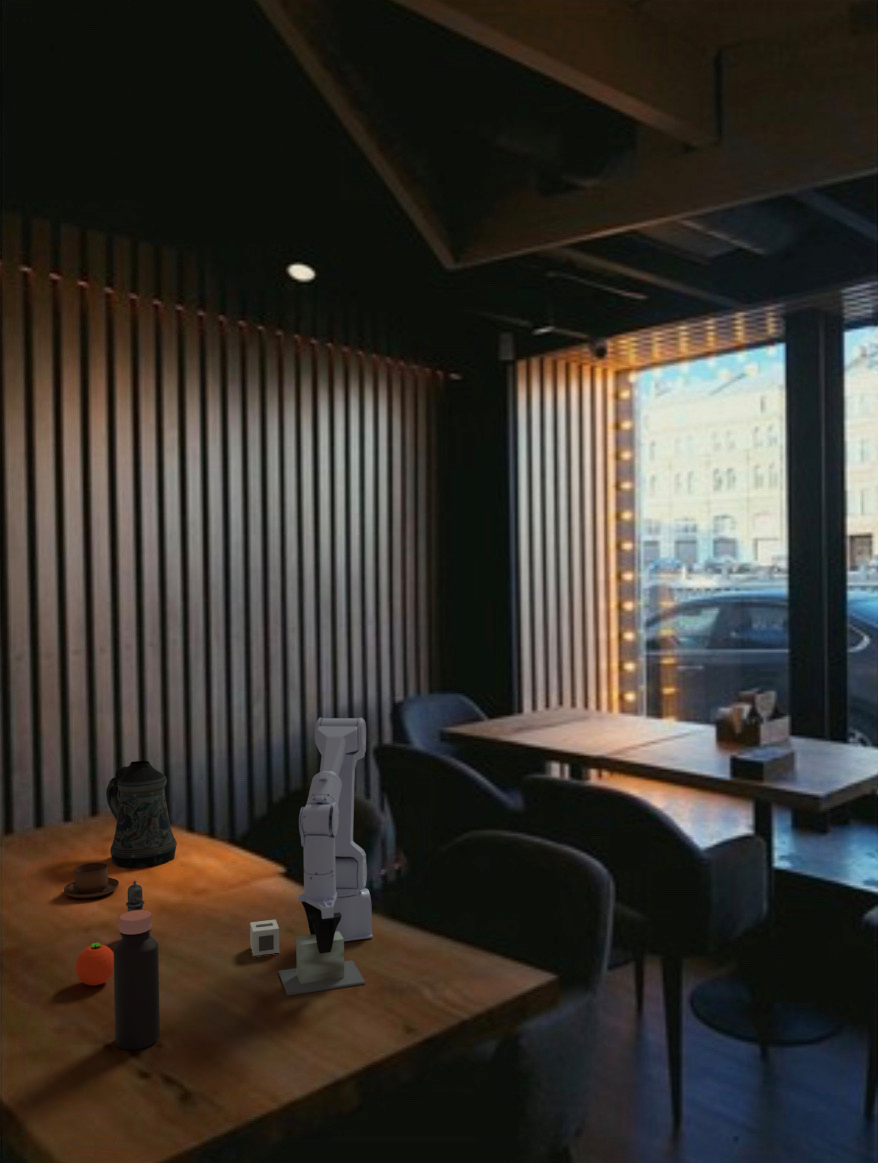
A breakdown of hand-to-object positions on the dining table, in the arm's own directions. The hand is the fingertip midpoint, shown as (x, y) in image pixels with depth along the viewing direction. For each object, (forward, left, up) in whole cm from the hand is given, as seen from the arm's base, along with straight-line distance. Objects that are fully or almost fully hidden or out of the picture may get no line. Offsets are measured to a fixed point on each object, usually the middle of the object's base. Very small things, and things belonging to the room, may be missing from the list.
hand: (320, 944), depth 174 cm
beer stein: (+31, -88, -7) cm, 93 cm away
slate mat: (0, 0, -6) cm, 6 cm away
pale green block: (0, 0, -6) cm, 6 cm away
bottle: (+32, +13, -6) cm, 35 cm away
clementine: (+39, -12, -7) cm, 41 cm away
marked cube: (+8, -16, -6) cm, 19 cm away
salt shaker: (+32, -31, -6) cm, 45 cm away
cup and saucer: (+42, -64, -7) cm, 77 cm away
